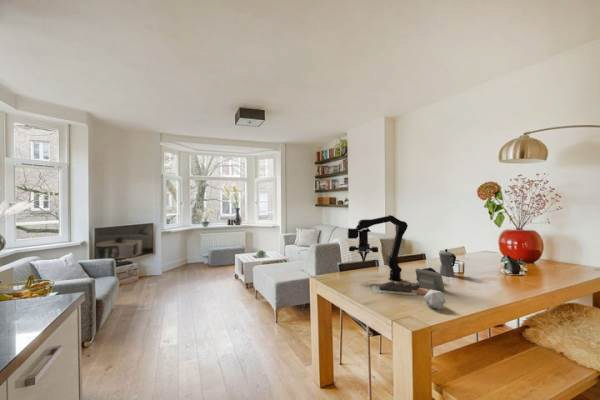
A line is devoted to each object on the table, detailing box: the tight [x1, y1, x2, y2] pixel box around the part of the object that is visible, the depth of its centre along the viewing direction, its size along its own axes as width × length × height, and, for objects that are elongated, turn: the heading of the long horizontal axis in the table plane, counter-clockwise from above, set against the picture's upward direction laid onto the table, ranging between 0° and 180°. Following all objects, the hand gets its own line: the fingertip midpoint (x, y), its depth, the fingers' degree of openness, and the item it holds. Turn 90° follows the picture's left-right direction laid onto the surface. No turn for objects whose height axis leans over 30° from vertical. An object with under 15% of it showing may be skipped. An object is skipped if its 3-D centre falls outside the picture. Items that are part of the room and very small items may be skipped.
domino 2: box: [387, 280, 404, 291], centre depth 159 cm, size 2×5×9 cm
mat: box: [371, 285, 417, 296], centre depth 159 cm, size 24×10×1 cm, turn 71°
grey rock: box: [423, 289, 446, 310], centre depth 134 cm, size 8×9×10 cm
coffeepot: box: [438, 248, 457, 278], centre depth 189 cm, size 15×9×18 cm, turn 9°
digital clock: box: [415, 268, 445, 292], centre depth 162 cm, size 16×9×11 cm, turn 23°
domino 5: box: [411, 288, 429, 295], centre depth 155 cm, size 2×5×9 cm
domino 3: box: [395, 281, 412, 291], centre depth 158 cm, size 2×5×9 cm
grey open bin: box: [416, 267, 439, 282], centre depth 176 cm, size 13×14×10 cm
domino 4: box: [403, 281, 420, 292], centre depth 156 cm, size 2×5×9 cm
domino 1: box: [378, 280, 396, 290], centre depth 160 cm, size 2×5×9 cm
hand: (363, 261), depth 181 cm, fingers closed
